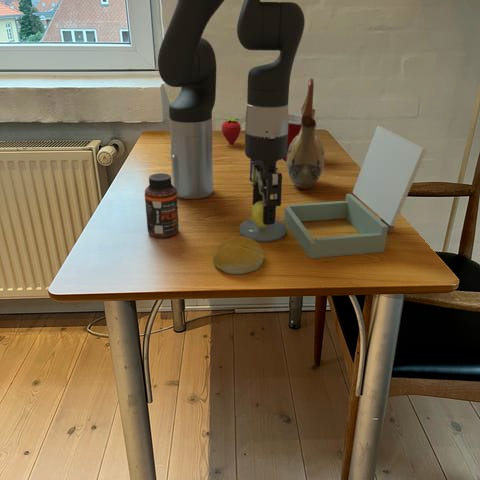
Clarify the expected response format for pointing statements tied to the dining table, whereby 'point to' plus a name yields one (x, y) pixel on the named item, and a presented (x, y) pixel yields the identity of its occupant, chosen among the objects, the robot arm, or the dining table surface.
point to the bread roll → (239, 255)
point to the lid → (388, 173)
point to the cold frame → (365, 242)
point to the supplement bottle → (161, 206)
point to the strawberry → (231, 130)
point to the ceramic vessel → (306, 148)
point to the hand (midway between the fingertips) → (263, 214)
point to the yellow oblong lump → (258, 214)
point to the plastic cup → (293, 129)
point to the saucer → (262, 231)
